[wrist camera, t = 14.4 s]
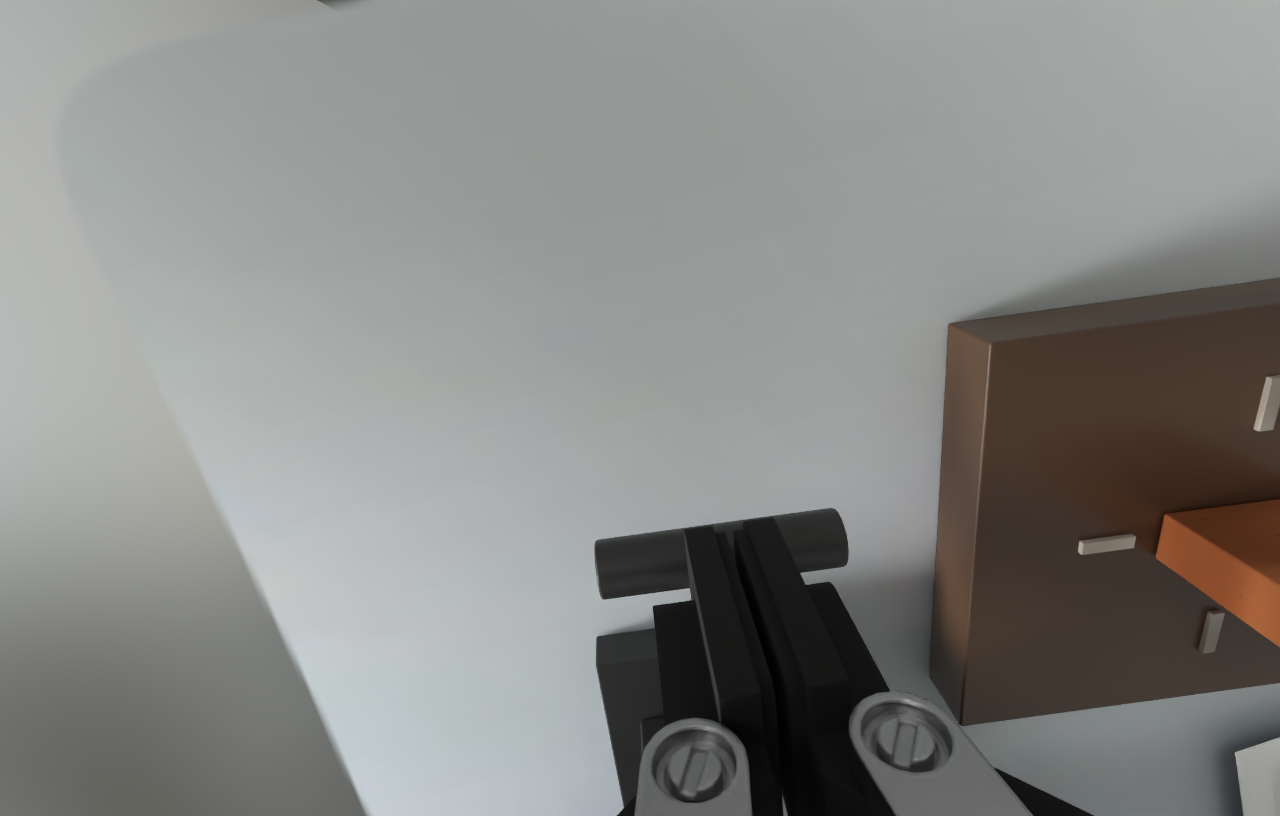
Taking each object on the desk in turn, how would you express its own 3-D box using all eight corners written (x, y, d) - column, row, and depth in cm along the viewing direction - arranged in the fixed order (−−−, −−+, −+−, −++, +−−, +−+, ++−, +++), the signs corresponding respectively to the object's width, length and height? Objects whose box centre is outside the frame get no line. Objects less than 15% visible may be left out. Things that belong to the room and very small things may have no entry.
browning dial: (947, 322, 16) (994, 344, 14) (1481, 249, 16) (1604, 261, 14) (928, 677, 21) (963, 732, 19) (1350, 619, 21) (1430, 668, 19)
